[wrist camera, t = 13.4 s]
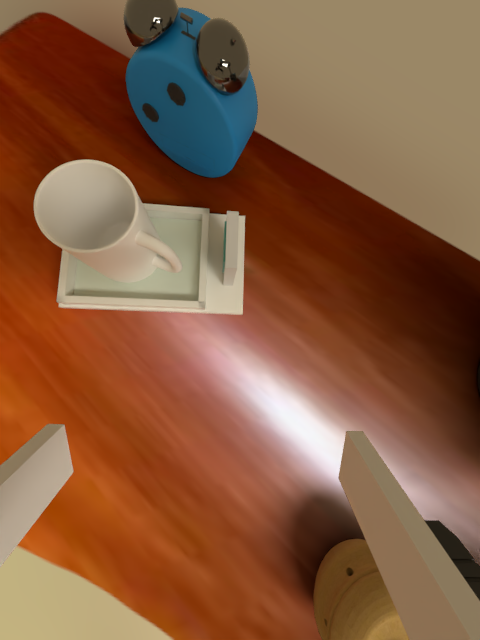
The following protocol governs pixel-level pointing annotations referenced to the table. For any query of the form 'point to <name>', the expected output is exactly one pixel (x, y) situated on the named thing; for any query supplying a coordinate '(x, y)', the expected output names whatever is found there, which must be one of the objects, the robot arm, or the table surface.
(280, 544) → the table surface
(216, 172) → the alarm clock
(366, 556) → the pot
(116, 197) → the cup
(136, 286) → the dock
